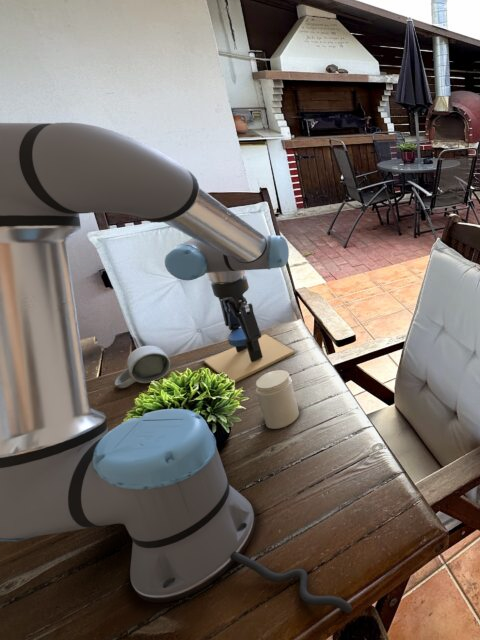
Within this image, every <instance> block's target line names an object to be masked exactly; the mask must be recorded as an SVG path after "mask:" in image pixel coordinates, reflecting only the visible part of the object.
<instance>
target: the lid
mask: <svg viewBox="0 0 480 640" xmlns="http://www.w3.org/2000/svg"><path fill="white" fill-rule="evenodd" d="M258 328H259V331H260V334H261V335H262V332H261V329H260V327H259V326H258ZM258 339H259V338H258ZM245 340H246V337H245V335H244V333H243V330H242V328H241V327H239V329H237V330H235V331H233V332H231V331H230V333H228V335H227V341H228V344H229V345H230V346H232V347H235V346H244V345H246V343H244V341H245Z"/></svg>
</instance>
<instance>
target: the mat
mask: <svg viewBox="0 0 480 640" xmlns="http://www.w3.org/2000/svg"><path fill="white" fill-rule="evenodd" d="M258 341H259V345H260V349H261V352H262V356H263V357H262V358H260V359H258V360H256V361H254V362H251V360H250V356H249V353H248V349H245V350H243V351H240V352H237V351H236V347H235V346H233V347H231V348H229V349H227V350H225V351H222V352H220V353H217V354H215V355H213V356H211V357H208V358H206V359H204V360H203V363H204V364H205V365H207V366H208V367H209V368H211V369H212V370H213V371H214V372H216V373H217V374H218V373H220V372H225V373H226V374H227V376H228V378H230V379H232V380H235V383H237V382H239V381H241V380H243V379H245V378H248V377H249V376H252V375H253V374H256V373H258V372H260V371H261V370H264V369H266V368H268V367H269V366H272V365H274V364H275V363H278V362H279V361H280V362H281V361H282V360H284V359H286V358H288V357H290V356H292V355H294V354H295V350H294V349H292V348H290V347H288V346H287V345H285V344H283V343H282V342H280V341H278V340H276V339H275V338H273V337H272V336H270V335H268V334H266V333H264V334H261V338H259V339H258Z"/></svg>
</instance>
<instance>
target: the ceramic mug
mask: <svg viewBox="0 0 480 640" xmlns="http://www.w3.org/2000/svg"><path fill="white" fill-rule="evenodd" d="M126 365H127V369H125V370H124V371H123V372H121V373H120V374H119V375H118V376H117V378H115V381H114V385H115V386H116V387H117V388H119V389H125V388H128V387H130V386H131V385H133V384H134V383H136V382H137V383H140V384H151V383H152V382H151V381H153V380H157V381H159V380H161V379H162V378H165V376H166V375H167V374H168V373H169V371H170V369H171V359H170V358H169V356H168V355H167V354H166V353H165V352H164V350H162V348H160V347H159V346H155V345H142V346H140V347H137V348H136V349H134V350H133V351H132V352H130V353H129V355H128V357H127V361H126ZM129 376H130V377H129ZM128 377H129V378H128Z"/></svg>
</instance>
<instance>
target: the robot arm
mask: <svg viewBox="0 0 480 640" xmlns="http://www.w3.org/2000/svg"><path fill="white" fill-rule="evenodd" d="M91 213H93V214H94V213H95V214H96V213H97V214H98V213H110V214H124V215H125V214H126V215H131V216H134V217H137V218H139V219H141V220H143V221H146V222H149V223H164V224H166V225H168V226H169V227H171V228H173V229H174V230H177V231H179V232H181V233H182V234H184V235H186V236H189V237H190V238H189V239H188V240H185V241H183V242H182V243H179V244H177V245H176V246H175V247H174V248H172V249H171V250H170V251H169V252H167V253H166V255H165V257H164V266H165V270H167V272H168V273H169V275H171V276H172V277H174V278H176V279H178V280H181V281H194V280H197V279H198V278H201V277H203V276H205V275H206V274H207V278H208V280H209V282H210V287H211V289H212V292H213V296H214V297H215V298H218V301H219V304H220V308H221V312H222V316H223V317H222V318H223V320H224V325H225V327H228V329H229V331H230V333H231V332H233V331H235V330H237V329H239V328H242V330H243V333H244V335H245V337H246V340H245V341H244V343H246V345H244V346H234V347H236V351H237V352H240V351H243V350H245V349H248V353H249V356H250V360H251V362H254V361H256V360H258V359H260V358H262V357H263V356H262V352H261V349H260V345H259V341H258V338H261V336H262V333H261V334H260V331H261V330H260V331H259V329H260V327H259V325H258V322H257V318H256V315H255V313H254V306H253V304H252V302H251V303H248V300H247V298H246V297H244V294H245V293H246V292H247V291H248V290H249V288H250V286H249V283H248V279H247V276H246V275H245V274H246V272H245V271H254V270H255V271H257V270H272V269H279V268H280V269H281V268H284V267H285V266H286V265H287V264H288V261H289V258H290V257H289V255H290V252H289V250H290V249H289V245H288V242H287V239H286V238H285V237H284V236H282V235H273V234H269V235H264V234H263V233H261V232H260V231H258V230H257V229H256V228H255V227H253V226H252V225H251V224H249V223H247V221H245V220H244V219H242V218H241V217H240V216H238V215H237V214H236V213H234V212H233V211H232V210H230V209H229V208H228V207H226V205H224V204H222V203H221V202H220V201H218V200H217V199H216V198H215V197H213V196H212V195H211V194H209V193H208V192H206V191H205V190H204V189H203V188H201V187H200V184H199V182H198V179H197V178H196V175H194V174H193V173H192V172H191V171H190V170H188V169H187V168H186V167H184V166H183V165H182V164H180V163H179V162H178V161H176V160H174V159H173V158H171V157H170V156H168V155H167V154H165V153H164V152H162V151H160V150H158V149H156V148H154V147H152V146H150V145H148V144H146V143H143V142H142V141H139V140H137V139H134V138H132V137H130V136H129V135H125V134H123V133H119V132H117V131H114V130H111V129H107V128H104V127H101V126H98V125H97V126H96V125H92V124H86V123H79V122H53V123H52V122H51V123H49V122H47V123H45V122H44V123H43V122H42V123H41V122H0V542H21V541H27V540H30V539H33V538H35V537H36V538H37V537H42V536H47V535H54V534H60V533H66V532H67V533H68V532H74V531H79V530H80V531H81V530H85V529H92V528H99V527H104V526H110V525H116V524H121V525H124V527H125V528H126V530H127V532H128V535H129V536H130V538H131V540H132V548H131V558H130V569H129V570H130V571H129V575H130V582H131V586H132V587H133V590H134V591H135V593H136V594H137V596H138V597H139V598H140V599H142V600H143V601H146V602H149V603H153V604H164V603H170V602H174V601H175V602H176V601H178V600H181V599H184V598H186V597H189V596H191V595H193V594H195V593H198V592H199V591H201V590H203V589H205V588H206V587H207V586H209V585H211V584H212V583H214V582H215V581H217V579H218V578H220V577H221V576H222V575H224V574H225V573H226V572H227V571H229V570H230V568H232V566H233V565H234V564H236V563H238V564H240V565H242V566H244V567H246V568H248V569H250V570H252V571H254V572H256V573H257V574H258V575H260V576H261V577H263V578H264V579H266V580H268V581H270V582H275V583H283V582H286V581H289V580H291V579H294V578H299V580H300V581H299V590H298V591H299V597H300V599H301V600H302V601H303V602H304V603H306V604H308V605H311V606H331V607H336V608H338V609H340V610H341V611H342V612H343V613H345V614H349V613H351V612H352V610H353V607H352V605H351V604H350V603H349V602H347V601H346V600H345V599H343V598H341V597H340V596H335V595H313V594H311V593H309V591H308V582H309V581H308V580H309V576H308V573H307V572H306V571H305V570H304V569H303V568H294V569H292V570H289V571H287V572H283V573H278V572H275V571H272V570H270V569H269V568H267V567H266V566H264V565H263V564H261V563H260V562H258V561H256V560H254V559H252V558H250V557H248V556H246V555H243V553H244V552H245V550H246V549H247V548H248V546H249V545H250V542H251V541H252V539H253V536H254V533H255V528H256V522H257V520H256V514H255V512H254V508H253V506H252V504H251V503H250V501H249V500H248V499H247V497H245V496H243V494H241V493H240V492H239V491H237V490H236V488H234V487H233V486H231V484H230V483H229V480H228V476H227V475H226V474H227V473H226V471H225V469H224V465H223V462H222V459H221V456H220V453H219V451H218V447H217V440H216V437H215V435H214V433H213V432H212V430H211V429H210V428H209V425H208V423H207V421H206V419H204V418H203V416H201V415H200V414H198V413H197V412H195V411H193V410H189V409H184V408H166V409H165V408H164V409H158V410H153V411H150V412H149V411H148V412H146V413H143V415H142V416H140V417H138V418H137V417H131V418H129V419H127V420H126V421H123V422H121V423H120V424H118V425H117V426H115V427H113V428H112V429H111V430H109V426H108V421H107V414H106V413H105V412H103V411H99V410H97V409H94V408H92V407H91V406H90V402H89V396H88V388H87V381H86V372H85V366H84V359H83V353H82V352H83V349H82V344H81V337H80V336H81V335H80V330H79V322H78V314H77V306H76V300H75V299H76V298H75V293H74V284H73V277H72V270H71V264H70V256H69V249H68V241H69V239H70V238H72V237H73V236H74V235H75V234H76V233H78V232H79V231H80V230H81V229H82V228H81V218H80V214H91ZM258 327H259V328H258Z"/></svg>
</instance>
